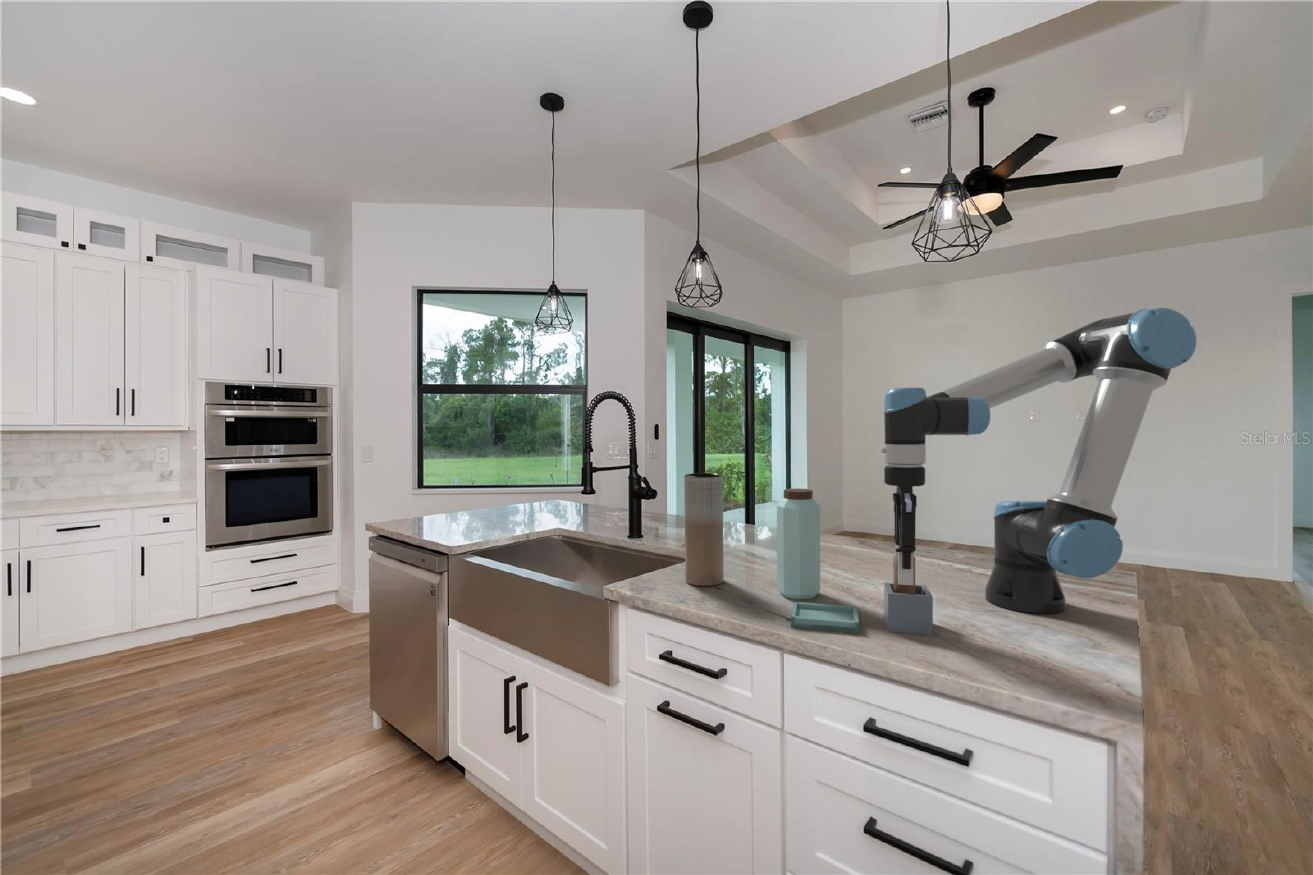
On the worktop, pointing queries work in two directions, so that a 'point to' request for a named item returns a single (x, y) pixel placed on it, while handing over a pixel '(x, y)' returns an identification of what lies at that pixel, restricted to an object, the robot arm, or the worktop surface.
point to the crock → (908, 610)
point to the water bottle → (798, 544)
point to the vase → (704, 529)
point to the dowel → (896, 587)
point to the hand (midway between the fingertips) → (904, 580)
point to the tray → (825, 617)
